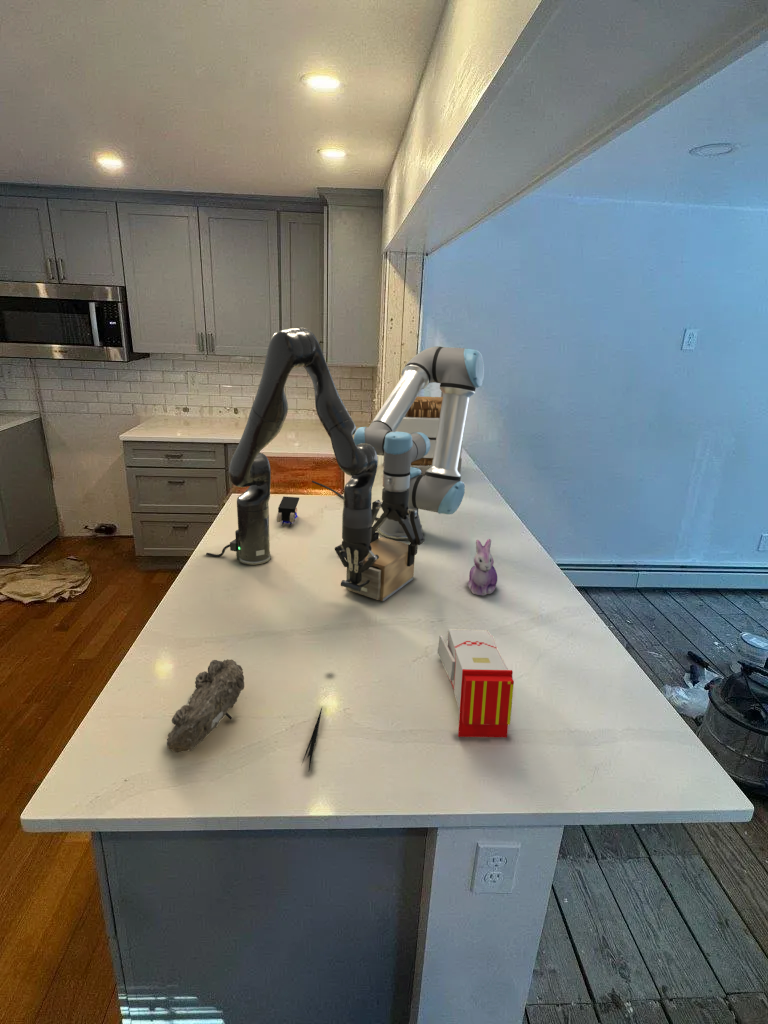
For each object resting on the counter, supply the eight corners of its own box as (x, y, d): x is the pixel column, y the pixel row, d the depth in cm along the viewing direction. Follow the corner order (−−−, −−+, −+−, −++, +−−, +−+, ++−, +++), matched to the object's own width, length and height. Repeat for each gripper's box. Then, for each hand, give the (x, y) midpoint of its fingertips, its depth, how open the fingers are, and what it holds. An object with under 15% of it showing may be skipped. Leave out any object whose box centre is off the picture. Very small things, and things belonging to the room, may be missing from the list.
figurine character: (295, 532, 200) (300, 513, 214) (294, 513, 197) (299, 495, 210) (276, 531, 200) (282, 512, 213) (275, 512, 197) (281, 494, 210)
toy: (488, 613, 130) (523, 677, 101) (484, 667, 133) (517, 744, 104) (435, 612, 130) (455, 676, 101) (432, 666, 133) (451, 743, 103)
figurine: (479, 599, 156) (485, 549, 151) (458, 584, 165) (463, 536, 160) (506, 593, 161) (512, 544, 155) (484, 578, 169) (490, 531, 164)
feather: (331, 679, 122) (336, 673, 122) (307, 777, 96) (313, 769, 95) (324, 675, 122) (329, 669, 121) (298, 772, 95) (304, 764, 95)
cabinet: (383, 601, 154) (384, 566, 150) (348, 589, 159) (348, 555, 156) (413, 578, 167) (415, 546, 164) (380, 568, 173) (381, 536, 169)
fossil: (192, 660, 117) (244, 628, 112) (224, 691, 120) (276, 661, 115) (142, 746, 98) (202, 712, 93) (182, 779, 101) (242, 748, 96)
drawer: (365, 609, 147) (366, 580, 144) (333, 597, 152) (333, 569, 149) (406, 579, 165) (408, 552, 162) (376, 569, 170) (377, 543, 167)
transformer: (382, 463, 289) (386, 382, 275) (445, 464, 293) (451, 384, 279) (390, 482, 257) (394, 392, 243) (460, 483, 261) (468, 394, 247)
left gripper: (327, 520, 145) (327, 581, 150) (370, 532, 138) (368, 595, 144) (344, 512, 151) (343, 572, 156) (386, 523, 144) (384, 584, 150)
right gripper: (353, 483, 161) (351, 553, 168) (427, 500, 149) (422, 574, 157) (367, 477, 167) (365, 545, 174) (440, 493, 155) (434, 565, 163)
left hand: (355, 583), depth 150 cm, fingers closed
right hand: (392, 559), depth 165 cm, fingers closed on cabinet, 12 cm apart
